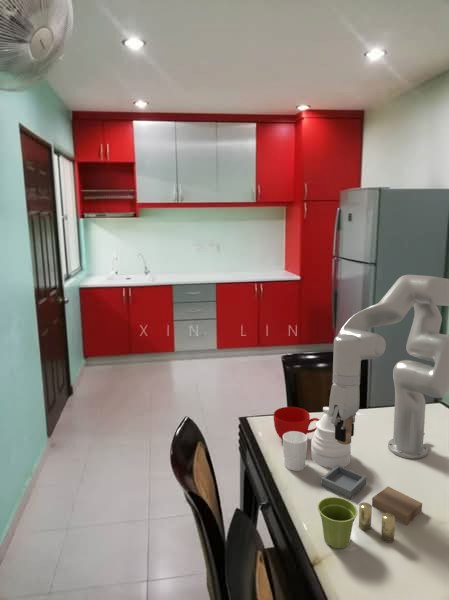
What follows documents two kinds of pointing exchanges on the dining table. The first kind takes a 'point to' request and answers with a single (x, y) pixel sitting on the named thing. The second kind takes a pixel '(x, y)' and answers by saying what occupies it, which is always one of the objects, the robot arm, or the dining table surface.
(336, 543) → the plant pot
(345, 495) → the tray
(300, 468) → the white cup
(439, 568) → the dining table surface
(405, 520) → the brown wooden brick
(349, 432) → the dowel
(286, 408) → the ceramic cup
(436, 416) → the dining table surface
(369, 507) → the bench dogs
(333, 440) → the honey pot
